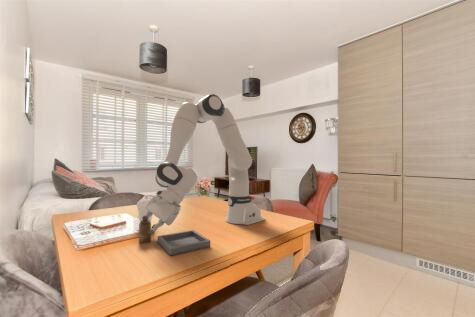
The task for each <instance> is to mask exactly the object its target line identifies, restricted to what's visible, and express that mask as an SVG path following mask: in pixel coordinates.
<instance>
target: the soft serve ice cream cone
mask: <svg viewBox="0 0 475 317" xmlns="http://www.w3.org/2000/svg"><path fill="white" fill-rule="evenodd" d="M151 199H152V198H151V197H150V195H148V194H144V196H143V197H142V198H140V199H139V201H137V203H136V208H137V212H138V219H139V222H140V221H141V220H143V219H142V217H143V216H145V215H146V213H147V212H148V210H147V209H146V208H145V207H146V205H147V203H148V202H149V201H150V200H151ZM153 216H154V214H152V215H151V216H150V217H149V220H150V222H151V223H152V218H153Z"/></svg>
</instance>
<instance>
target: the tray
mask: <svg viewBox="0 0 475 317" xmlns="http://www.w3.org/2000/svg"><path fill="white" fill-rule="evenodd" d="M156 239H157V244H158V245H159V246H160V247H161V248H163V250H164V251H165V253H167V254H168V255H169V256H170V257H173V256H177V255H181V254H186V253H190V252H193V251H199V250H203V249H207V248H208V249H209V248H210V247H211V240H210V239H209V238H207V237H206V236H204V235H203V234H201V233H199V232H198V231H196V230H194V229H189V230H185V231H178V232H173V233H168V234H162V235H161V234H160V235H157V238H156Z"/></svg>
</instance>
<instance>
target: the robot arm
mask: <svg viewBox="0 0 475 317" xmlns="http://www.w3.org/2000/svg"><path fill="white" fill-rule="evenodd" d="M210 120H211V121H212V122H213V124H215V128H216V130H217V134H218V136H219V138H220V141H221V144H222V146H223V147H224V149H225V151H226V154H227V156H228V158H227V160H228V163H227V165H228V180H229V181H228V183H229V184H228V196H227V197H228V198H227V203H228V208H227V212H226V217H225V222H226V223H228V224H233V225H246V226H248V225H252V224H255V223H256V224H257V223H260V222H263V221H265V220H266V218H265V217H264V216H263V215H262V213H261V209H260V208H259V206H257V205H256V204H255V203H253V201H254V200H255V199H256V197H255V195H254V196H253V195H250V180H249V179H250V178H249V173H248V172H249V171H248V169H250V167H251V166H252V164H253V158H252V156H251V154H250V151H249V149H248V147H247V145H246V144H245V143H246V142H244V139H243V137H242V135H241V133H240V130H239V127H238V125H237V122H236V120H235V118H234V115H233V114H232V112H231V110H230V108H228V107H225V105H224V102H223V101H222V99H221V98H220V97H219V96H218V95H216V94H213V93H212V94H211V93H210V94H207V95H205V96H204V97H202V98H201V99H200V100H198V101H197V103H196V104H195V103H193V102H188V101H186V102H183V103H182V104H180V106H179V108H178V109H177V112H176V113H175V115H174V118H173V120H172V123H171V129H170V140H169V141H170V143H169V147H168V148H169V149H168V151H167V154H166V158H165V160H164V162H161V163H160V164H159V165H158V166H157V169H156V173H155V182H156V184H157V185H158V186H159V187H161V188H166V189H162V190H157V191H156V193H155V195H153V196H152V198H150V199H151V200H150V201H149V202H148V203H147V205H146V207H145V208H146V209H147V210H148V212H147V213H146V216H148V220H149V217H150V216H151V215H153V216H154V217H156V218H158V219H159V220H158V221H157V223H155V224H153V225H151V230H153V231H154V232H156V231H157V230H158V229H159V228H161V227H162V226H163V225H167V226H170V225H172V224H173V223H174V221H175V220H176V218H177V217H178V216H179V213H180V211H181V207H182V206H181V203H182V202H183V201H184V199H185V197H186V196H187V195H188V194H189V193H190V192H191V191H192V190H193V189H194V187H195V186H196V184H197V182H198V176H197V174H196V172H195V171H194V170H193V169H191V168H190V167H183V166H180V165H178V164H179V161H180V158H181V155H182V153H183V151H184V149H185V147H186V146H187V144H188V143H189V142H190V140H191V138H192V136H193V135H194V132H195V130H196V127H197V123H198V124H204V123H206V122H209V121H210Z"/></svg>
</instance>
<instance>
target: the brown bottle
mask: <svg viewBox="0 0 475 317" xmlns="http://www.w3.org/2000/svg"><path fill="white" fill-rule="evenodd" d="M142 219H143V220H141V221H140V220H139V224H138V243H140V244H148V243H149V242H151V241H152V239H151V238H152V236H151V235H152V221H151V222H150V220H148V216H146V215H145V216H143V217H142Z"/></svg>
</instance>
